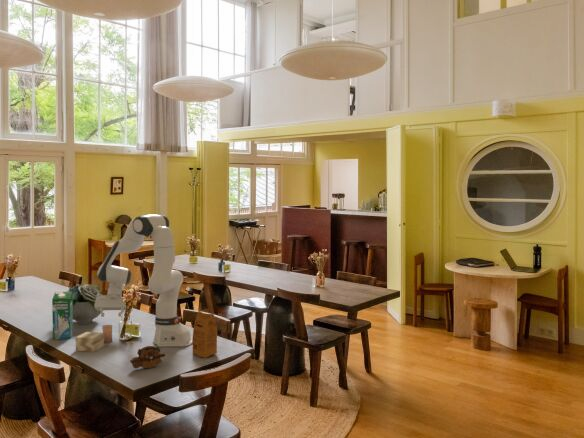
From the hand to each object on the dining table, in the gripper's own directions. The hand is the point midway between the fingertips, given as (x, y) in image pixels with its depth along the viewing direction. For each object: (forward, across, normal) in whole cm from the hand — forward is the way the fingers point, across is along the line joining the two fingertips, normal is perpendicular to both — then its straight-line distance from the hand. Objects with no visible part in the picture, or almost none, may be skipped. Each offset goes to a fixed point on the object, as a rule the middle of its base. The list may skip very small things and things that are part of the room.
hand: (111, 316), depth 282 cm
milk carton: (+7, -27, +11) cm, 30 cm away
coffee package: (+31, +54, -14) cm, 64 cm away
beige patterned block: (+22, -7, -4) cm, 23 cm away
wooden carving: (+44, +29, -26) cm, 58 cm away
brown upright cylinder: (+15, 0, +3) cm, 15 cm away
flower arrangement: (-14, -23, +31) cm, 41 cm away
